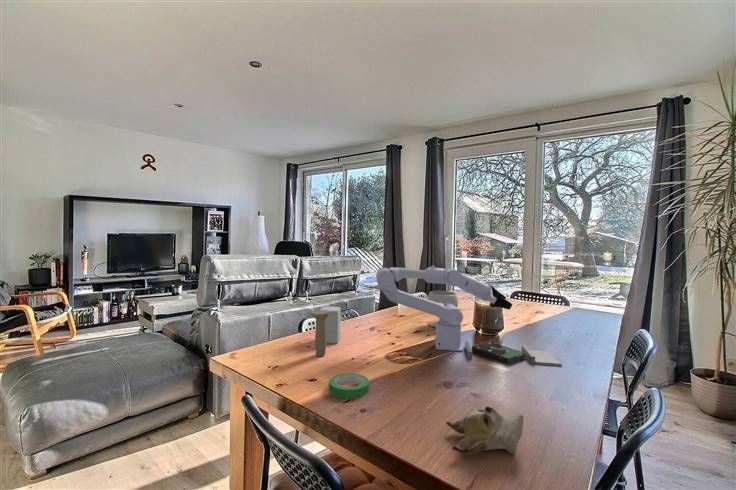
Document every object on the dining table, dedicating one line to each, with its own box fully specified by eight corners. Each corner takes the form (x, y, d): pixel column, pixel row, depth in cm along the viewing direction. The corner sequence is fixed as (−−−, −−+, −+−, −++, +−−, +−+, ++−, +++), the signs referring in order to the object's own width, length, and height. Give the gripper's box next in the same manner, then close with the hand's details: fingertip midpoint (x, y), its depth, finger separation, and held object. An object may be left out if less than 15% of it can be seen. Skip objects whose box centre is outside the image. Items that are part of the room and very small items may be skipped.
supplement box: (341, 338, 143) (341, 306, 142) (337, 344, 135) (338, 311, 135) (322, 337, 144) (323, 305, 143) (318, 343, 136) (318, 310, 136)
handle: (332, 354, 124) (332, 311, 124) (318, 359, 120) (318, 315, 119) (322, 351, 128) (323, 309, 127) (308, 355, 123) (309, 312, 122)
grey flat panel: (468, 359, 123) (468, 351, 122) (464, 347, 134) (465, 340, 134) (561, 366, 118) (561, 358, 118) (549, 353, 130) (549, 346, 130)
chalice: (420, 326, 162) (421, 293, 162) (433, 319, 174) (434, 289, 173) (450, 331, 154) (451, 297, 154) (461, 324, 166) (462, 292, 165)
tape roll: (347, 377, 106) (348, 369, 106) (377, 389, 99) (377, 379, 99) (320, 390, 98) (320, 381, 98) (350, 404, 91) (350, 393, 91)
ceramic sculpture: (532, 421, 67) (451, 420, 69) (533, 466, 68) (452, 464, 69) (514, 395, 78) (444, 395, 79) (515, 434, 78) (446, 433, 80)
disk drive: (471, 353, 130) (508, 366, 118) (471, 346, 129) (508, 358, 118) (488, 348, 136) (525, 360, 124) (488, 341, 136) (525, 352, 124)
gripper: (484, 284, 125) (519, 300, 125) (475, 272, 139) (507, 287, 139) (475, 301, 127) (509, 317, 127) (467, 288, 141) (498, 303, 141)
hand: (507, 303), depth 133 cm, fingers open, 7 cm apart
